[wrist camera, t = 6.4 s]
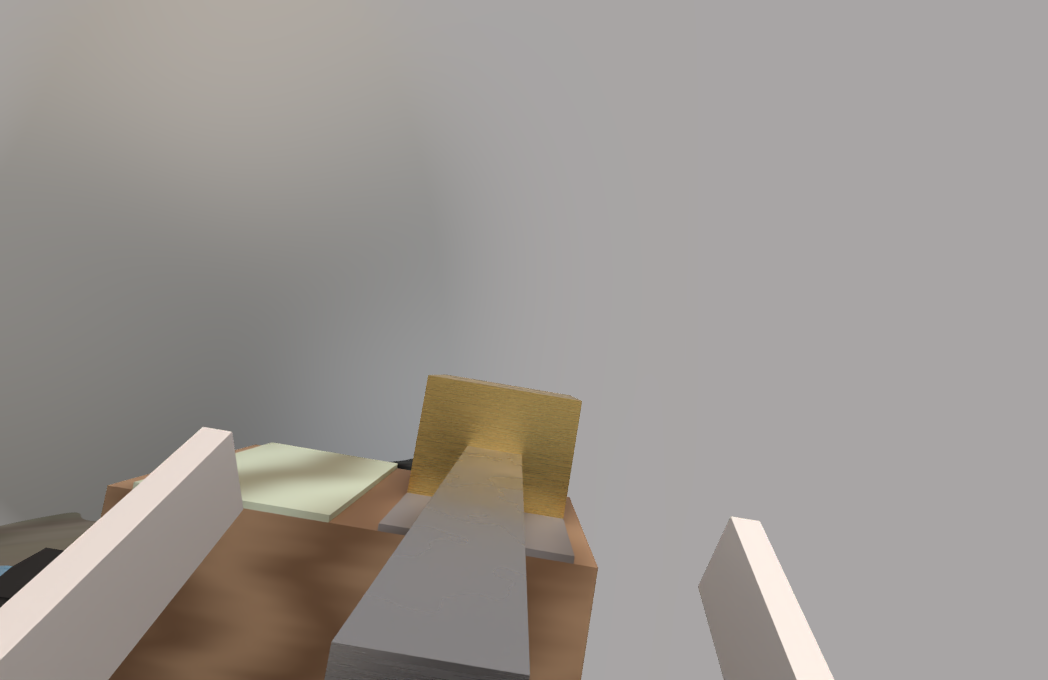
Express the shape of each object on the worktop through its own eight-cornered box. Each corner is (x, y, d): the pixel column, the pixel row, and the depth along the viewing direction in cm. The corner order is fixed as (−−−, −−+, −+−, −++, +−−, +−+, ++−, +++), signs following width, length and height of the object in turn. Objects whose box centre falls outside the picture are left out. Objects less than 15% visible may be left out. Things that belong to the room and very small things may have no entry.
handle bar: (101, 822, 7) (195, 383, 7) (429, 468, 30) (445, 374, 31) (685, 921, 7) (745, 476, 7) (554, 489, 30) (569, 395, 31)
